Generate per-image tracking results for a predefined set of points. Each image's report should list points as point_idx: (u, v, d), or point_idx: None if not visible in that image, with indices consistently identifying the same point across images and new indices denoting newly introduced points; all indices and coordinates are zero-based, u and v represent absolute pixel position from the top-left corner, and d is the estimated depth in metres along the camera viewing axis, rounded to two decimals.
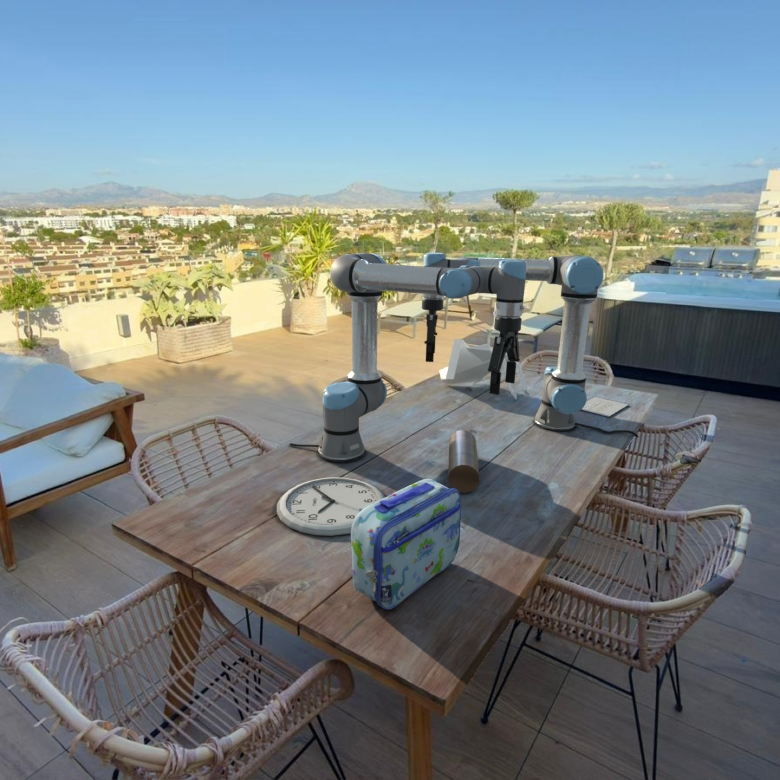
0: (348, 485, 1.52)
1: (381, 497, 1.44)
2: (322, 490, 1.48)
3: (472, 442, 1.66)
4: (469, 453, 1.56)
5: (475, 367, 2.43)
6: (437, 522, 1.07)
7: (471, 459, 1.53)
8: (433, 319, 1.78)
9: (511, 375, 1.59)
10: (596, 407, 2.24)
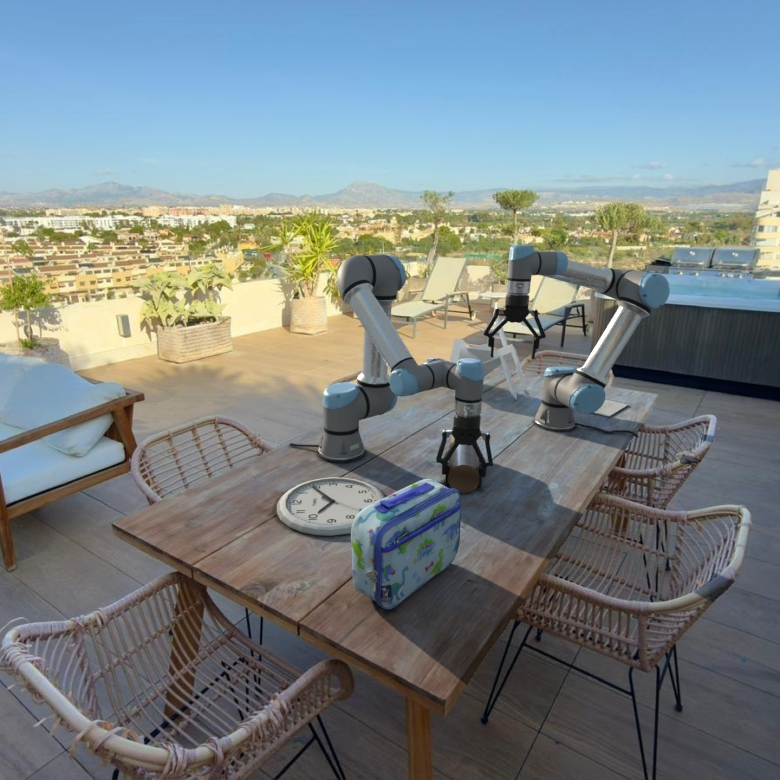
0: (348, 485, 1.52)
1: (381, 497, 1.44)
2: (322, 490, 1.48)
3: None
4: (469, 453, 1.56)
5: None
6: (437, 522, 1.07)
7: (471, 459, 1.53)
8: None
9: None
10: None
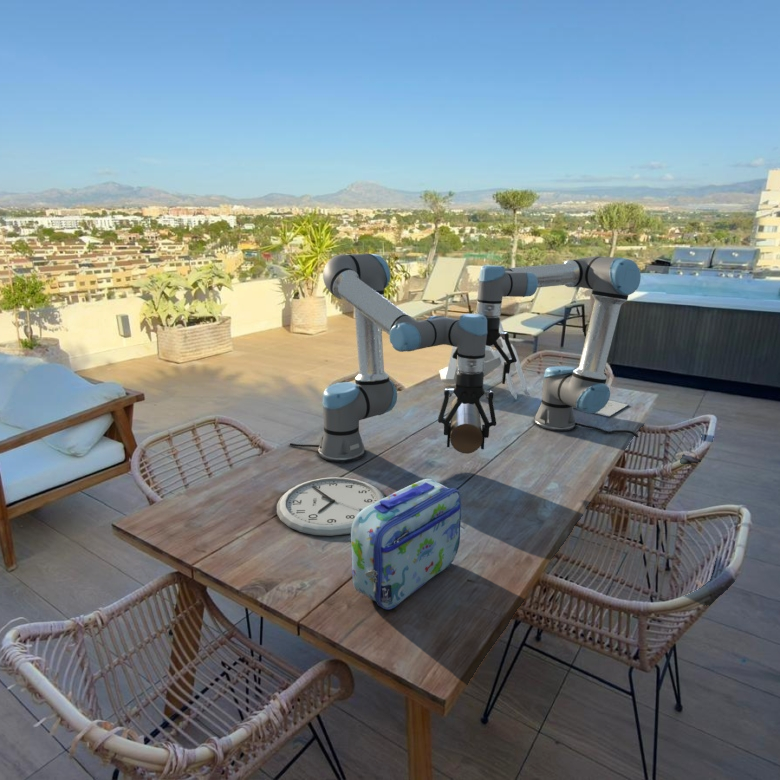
0: (348, 485, 1.52)
1: (381, 497, 1.44)
2: (322, 490, 1.48)
3: (475, 405, 1.62)
4: (472, 414, 1.53)
5: None
6: (437, 522, 1.07)
7: (474, 419, 1.49)
8: None
9: None
10: None
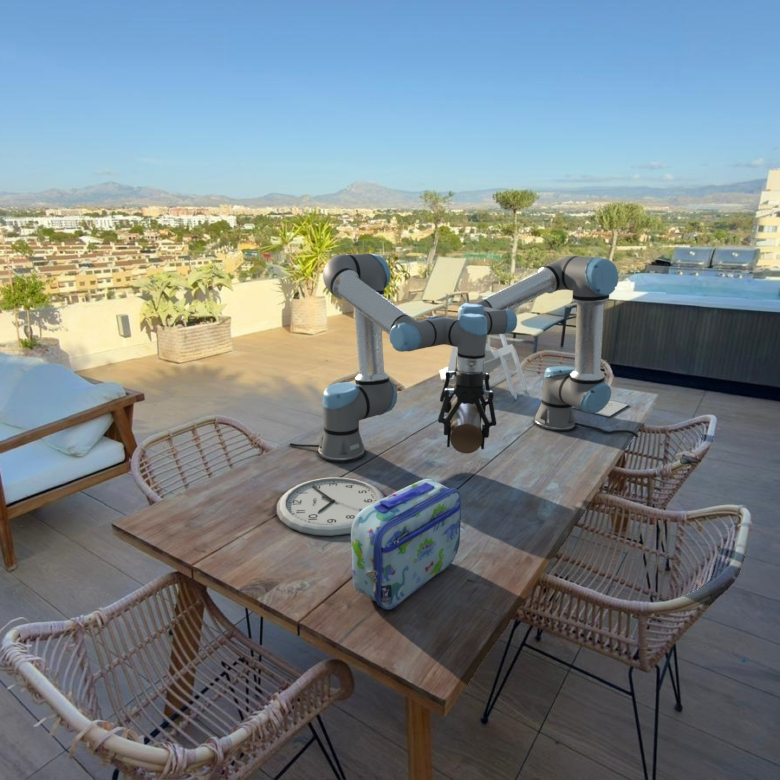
0: (348, 485, 1.52)
1: (381, 497, 1.44)
2: (322, 490, 1.48)
3: (475, 405, 1.62)
4: (472, 414, 1.53)
5: None
6: (437, 522, 1.07)
7: (474, 419, 1.49)
8: None
9: None
10: None
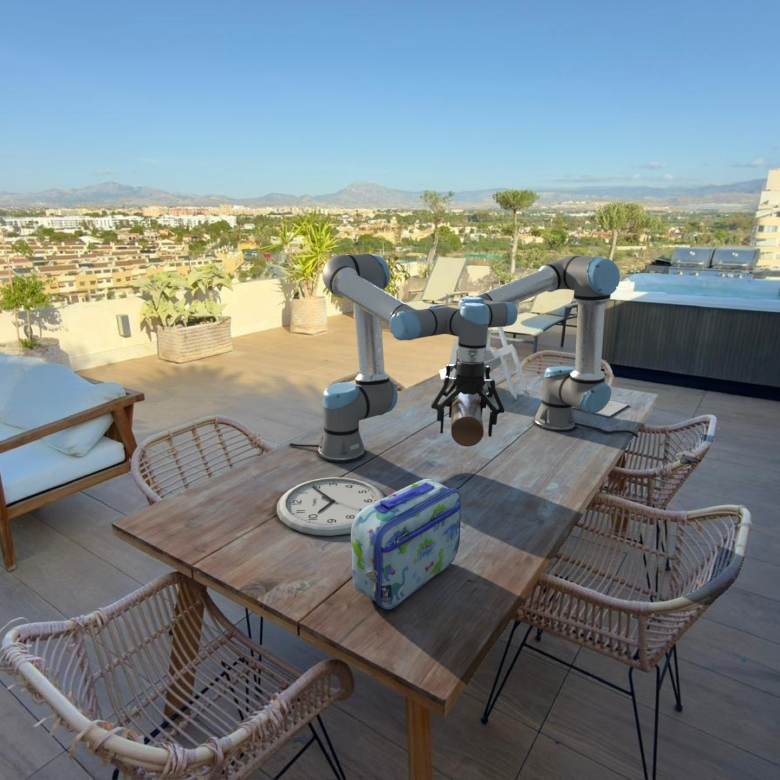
0: (348, 485, 1.52)
1: (381, 497, 1.44)
2: (322, 490, 1.48)
3: (475, 398, 1.62)
4: (473, 407, 1.52)
5: None
6: (437, 522, 1.07)
7: (475, 412, 1.48)
8: None
9: (489, 427, 1.47)
10: None
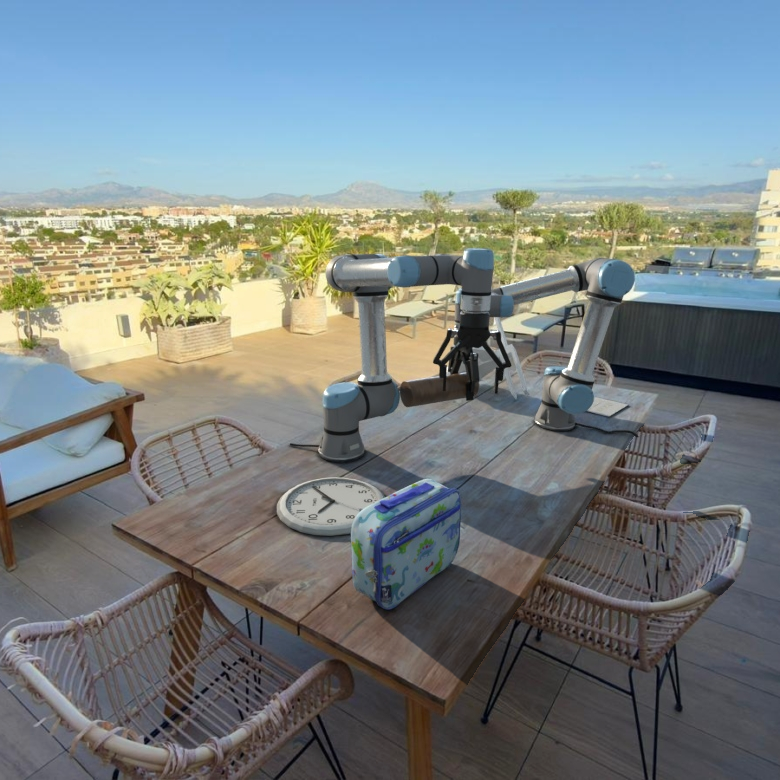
0: (348, 485, 1.52)
1: (381, 497, 1.44)
2: (322, 490, 1.48)
3: (458, 379, 1.81)
4: (431, 380, 1.77)
5: None
6: (437, 522, 1.07)
7: (422, 382, 1.75)
8: (477, 358, 1.77)
9: (495, 383, 1.37)
10: (596, 407, 2.24)
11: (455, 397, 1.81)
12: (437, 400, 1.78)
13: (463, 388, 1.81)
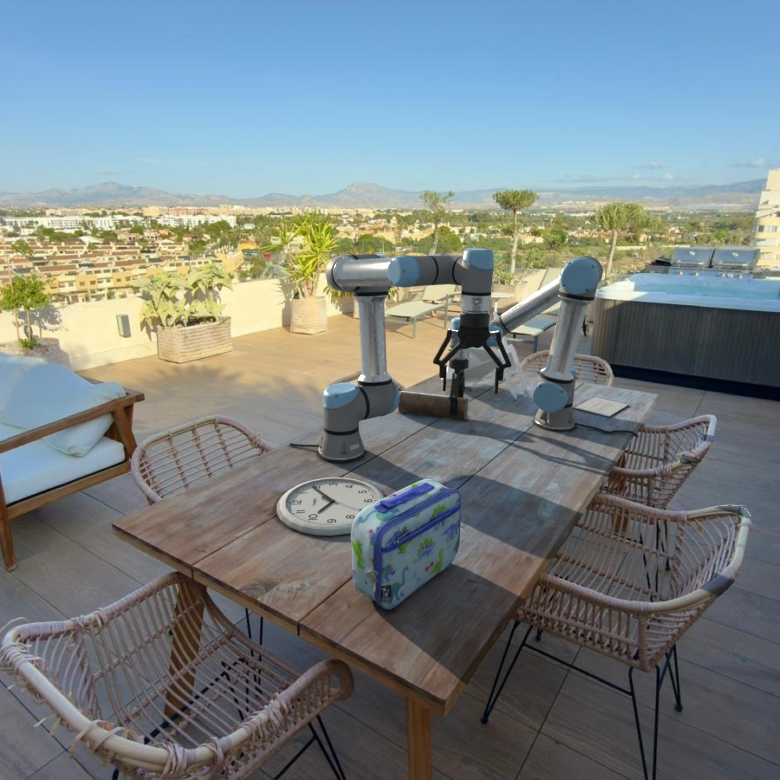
0: (348, 485, 1.52)
1: (381, 497, 1.44)
2: (322, 490, 1.48)
3: (446, 401, 2.05)
4: (421, 395, 2.09)
5: (475, 367, 2.43)
6: (437, 522, 1.07)
7: (412, 395, 2.10)
8: (457, 378, 1.97)
9: (495, 383, 1.37)
10: (596, 407, 2.24)
11: (441, 415, 2.07)
12: (423, 413, 2.09)
13: (447, 409, 2.05)
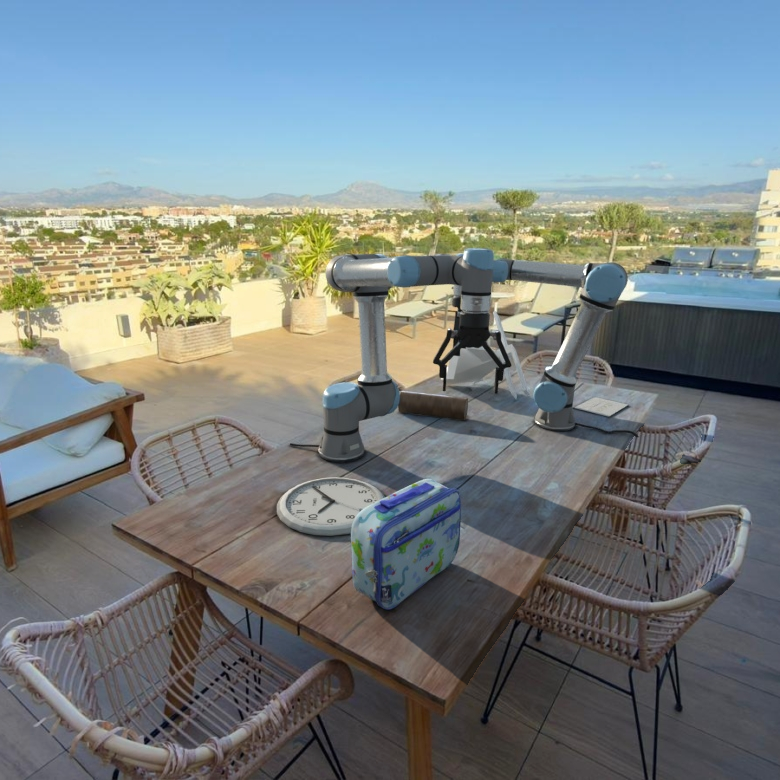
0: (348, 485, 1.52)
1: (381, 497, 1.44)
2: (322, 490, 1.48)
3: (446, 401, 2.05)
4: (421, 395, 2.09)
5: (475, 367, 2.43)
6: (437, 522, 1.07)
7: (412, 395, 2.10)
8: None
9: (495, 383, 1.37)
10: (596, 407, 2.24)
11: (441, 415, 2.07)
12: (423, 413, 2.09)
13: (447, 409, 2.05)
